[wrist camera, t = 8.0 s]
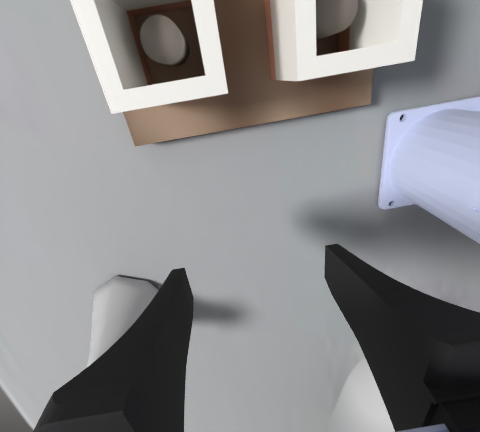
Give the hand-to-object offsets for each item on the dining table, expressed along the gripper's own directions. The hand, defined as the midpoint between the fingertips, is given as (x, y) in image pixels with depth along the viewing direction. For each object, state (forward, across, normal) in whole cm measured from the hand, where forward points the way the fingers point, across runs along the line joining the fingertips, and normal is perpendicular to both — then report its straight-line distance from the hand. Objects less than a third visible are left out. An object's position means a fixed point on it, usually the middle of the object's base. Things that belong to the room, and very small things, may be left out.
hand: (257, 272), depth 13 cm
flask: (+10, +12, +10) cm, 18 cm away
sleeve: (+8, +3, -11) cm, 14 cm away
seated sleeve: (+8, -5, -11) cm, 14 cm away
